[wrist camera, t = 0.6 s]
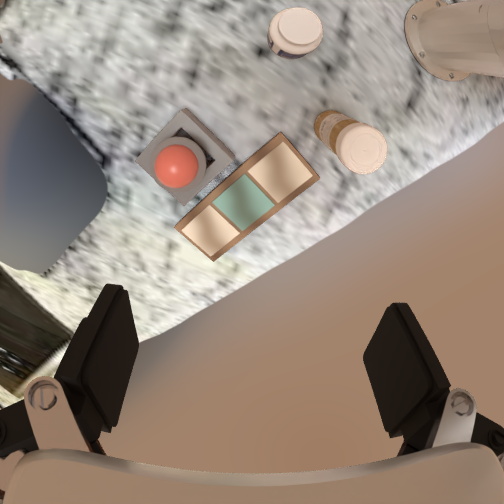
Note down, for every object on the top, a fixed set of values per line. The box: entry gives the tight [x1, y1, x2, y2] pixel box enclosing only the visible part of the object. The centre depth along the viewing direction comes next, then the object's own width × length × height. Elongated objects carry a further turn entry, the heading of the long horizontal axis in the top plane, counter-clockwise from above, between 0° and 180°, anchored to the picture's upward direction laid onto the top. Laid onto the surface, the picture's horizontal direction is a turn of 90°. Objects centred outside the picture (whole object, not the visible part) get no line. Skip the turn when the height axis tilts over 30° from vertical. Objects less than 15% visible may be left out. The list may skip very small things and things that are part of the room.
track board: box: [174, 132, 320, 262], centre depth 40 cm, size 20×8×1 cm, turn 132°
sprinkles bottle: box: [314, 110, 387, 174], centre depth 29 cm, size 5×5×13 cm
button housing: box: [135, 108, 235, 206], centre depth 36 cm, size 9×9×3 cm
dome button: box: [150, 136, 207, 193], centre depth 33 cm, size 7×7×6 cm
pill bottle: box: [268, 7, 323, 59], centre depth 24 cm, size 5×5×10 cm
